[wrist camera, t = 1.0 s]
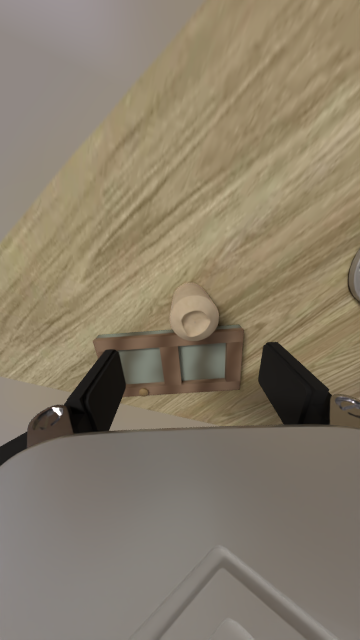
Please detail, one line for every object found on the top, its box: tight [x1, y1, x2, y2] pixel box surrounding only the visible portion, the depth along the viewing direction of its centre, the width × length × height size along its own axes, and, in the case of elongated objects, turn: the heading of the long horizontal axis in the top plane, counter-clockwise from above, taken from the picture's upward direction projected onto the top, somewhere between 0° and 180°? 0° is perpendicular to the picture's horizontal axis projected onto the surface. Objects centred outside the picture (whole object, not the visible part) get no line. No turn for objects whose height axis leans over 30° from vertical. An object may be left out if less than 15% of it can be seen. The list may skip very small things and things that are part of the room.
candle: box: [170, 283, 219, 341], centre depth 22 cm, size 6×6×10 cm
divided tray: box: [93, 325, 244, 397], centre depth 29 cm, size 24×12×3 cm, turn 95°
